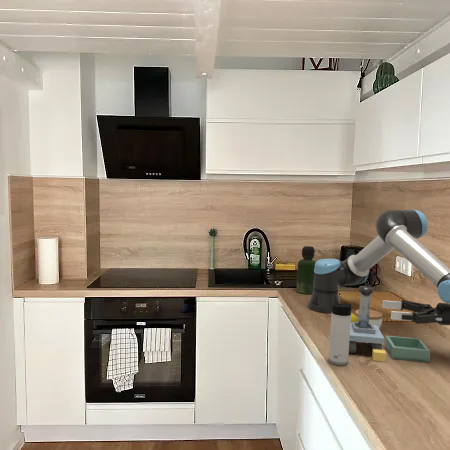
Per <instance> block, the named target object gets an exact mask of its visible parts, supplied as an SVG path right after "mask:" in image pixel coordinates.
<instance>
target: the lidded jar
mask: <svg viewBox="0 0 450 450" xmlns="http://www.w3.org/2000/svg"><path fill="white" fill-rule="evenodd" d="M354 315H355V316H356V318H357V322H358V321H359V309H356V310H355V311H354ZM383 317H384V314H383V313H382V312H381V311H378V310H374V309H370V315H369V323H371V324H373V325H377V326H378V328H379V329H380V328H381V327H382V323H383Z"/></svg>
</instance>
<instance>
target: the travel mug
mask: <svg viewBox="0 0 450 450" xmlns="http://www.w3.org/2000/svg"><path fill="white" fill-rule="evenodd" d="M352 307H353V306H352V305H351V304H349V303H341V304H333V305H332V313H330V314H331V318H330V329H329V331H330V334H329V348H328V362H329V363H330V364H332V365H333V366H341V367H342V366H346V365H348V363H349V339H350V325H351V313H352Z"/></svg>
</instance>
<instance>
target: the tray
mask: <svg viewBox="0 0 450 450" xmlns="http://www.w3.org/2000/svg"><path fill="white" fill-rule="evenodd" d="M384 347H385V349H386V351H387V354H389V355H390V358H391V359H392V360H401V361H411V362H421V363H430V357H431V350H430V349H429V347H427V345H426V344H425V343H424V342H423V340H421V338H419V337H406V336H397V335H396V336H395V335H385V337H384Z"/></svg>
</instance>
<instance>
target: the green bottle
mask: <svg viewBox="0 0 450 450" xmlns="http://www.w3.org/2000/svg"><path fill="white" fill-rule="evenodd" d="M315 254H316V250H315V247H314V246H307V245H305V246H303V247H302V249H301V257H302V258H301V259H300V260H299V261H298V262H297V273H296V275H297V276H296V288H295V289H296V292H297V293H299V294H304V295H312V293H313V285H314V268H315V263H316V262H317V260H314V259H315Z"/></svg>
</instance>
